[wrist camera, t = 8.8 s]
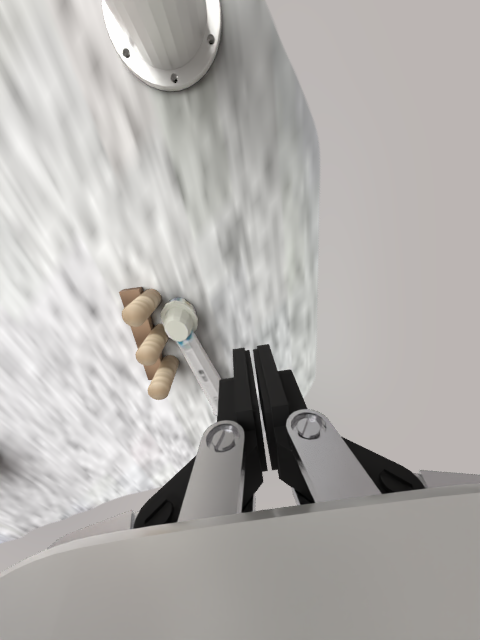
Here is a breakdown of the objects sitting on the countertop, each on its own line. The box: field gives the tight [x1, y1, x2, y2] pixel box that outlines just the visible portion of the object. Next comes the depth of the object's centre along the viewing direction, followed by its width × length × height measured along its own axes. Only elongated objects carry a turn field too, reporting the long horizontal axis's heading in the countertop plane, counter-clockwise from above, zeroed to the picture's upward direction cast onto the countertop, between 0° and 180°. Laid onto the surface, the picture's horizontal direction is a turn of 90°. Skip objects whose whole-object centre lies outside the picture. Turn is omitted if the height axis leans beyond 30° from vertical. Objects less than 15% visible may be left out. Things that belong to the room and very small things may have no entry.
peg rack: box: [119, 287, 179, 400], centre depth 38 cm, size 16×6×8 cm, turn 8°
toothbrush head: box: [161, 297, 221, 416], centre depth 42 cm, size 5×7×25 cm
